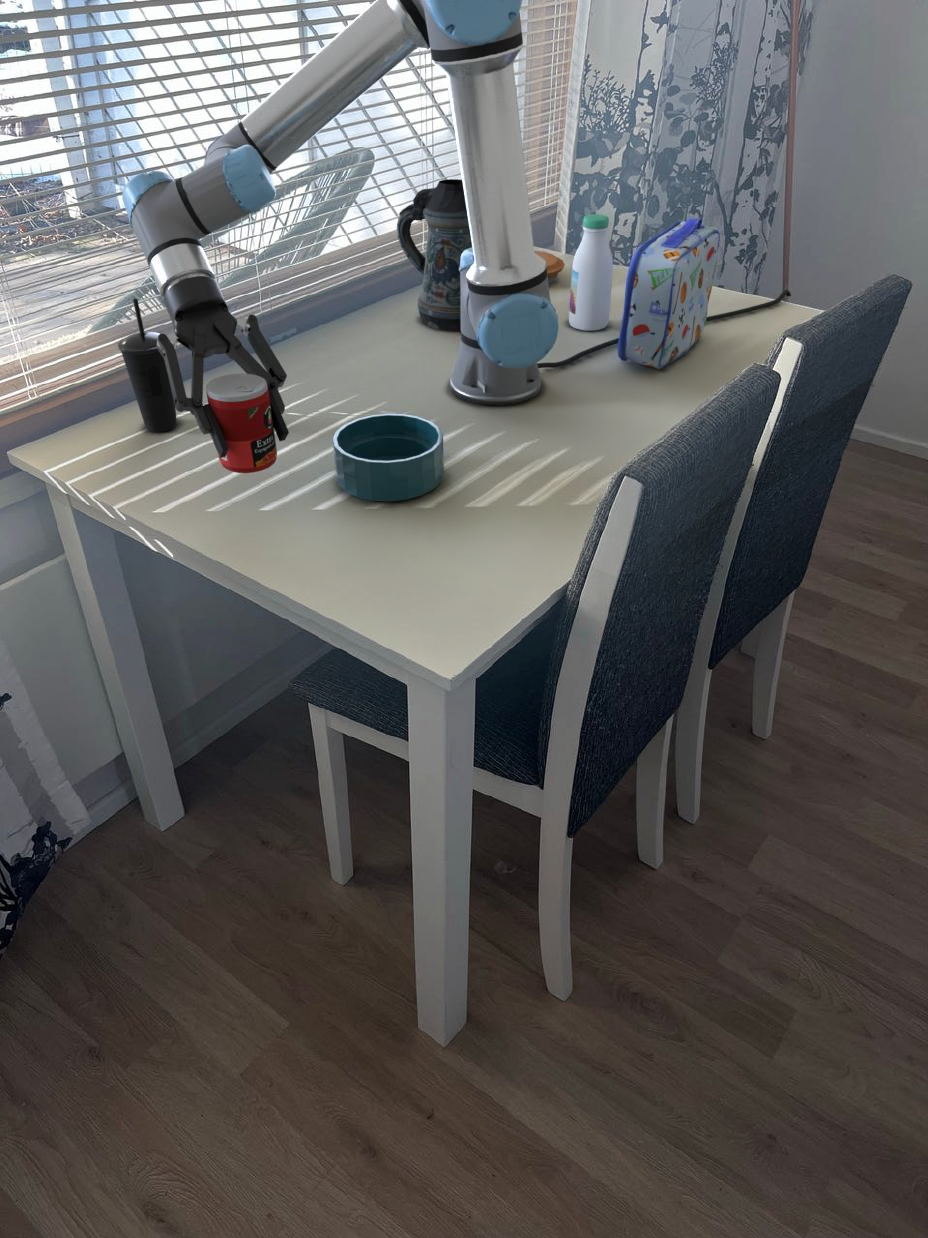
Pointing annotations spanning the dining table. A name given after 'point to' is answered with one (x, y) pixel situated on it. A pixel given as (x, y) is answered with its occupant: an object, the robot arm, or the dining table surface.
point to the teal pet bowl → (388, 457)
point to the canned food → (244, 421)
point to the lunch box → (668, 293)
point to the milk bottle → (591, 277)
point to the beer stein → (438, 251)
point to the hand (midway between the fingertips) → (254, 444)
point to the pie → (551, 265)
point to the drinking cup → (149, 377)
